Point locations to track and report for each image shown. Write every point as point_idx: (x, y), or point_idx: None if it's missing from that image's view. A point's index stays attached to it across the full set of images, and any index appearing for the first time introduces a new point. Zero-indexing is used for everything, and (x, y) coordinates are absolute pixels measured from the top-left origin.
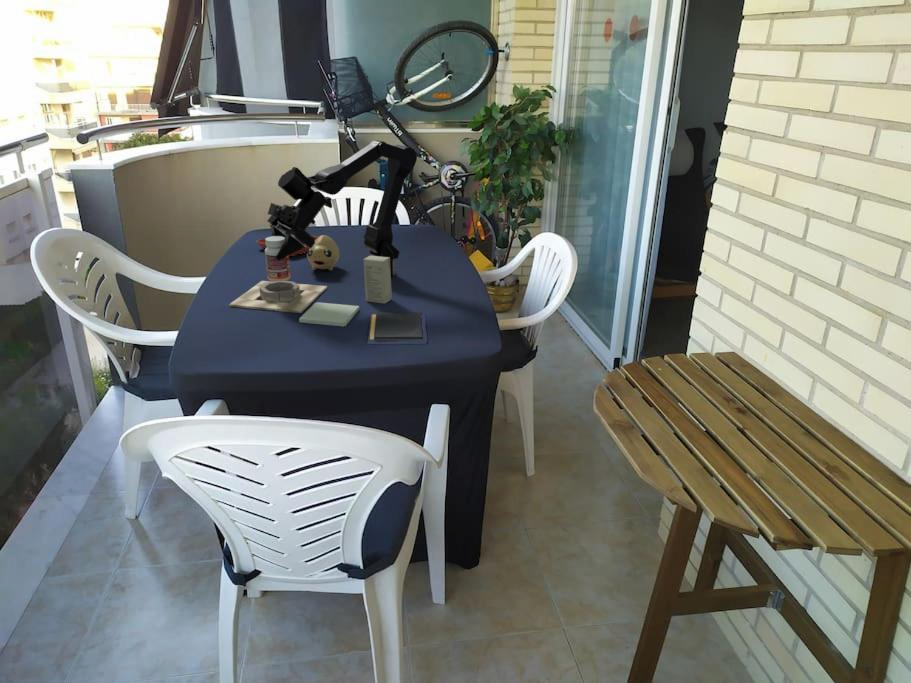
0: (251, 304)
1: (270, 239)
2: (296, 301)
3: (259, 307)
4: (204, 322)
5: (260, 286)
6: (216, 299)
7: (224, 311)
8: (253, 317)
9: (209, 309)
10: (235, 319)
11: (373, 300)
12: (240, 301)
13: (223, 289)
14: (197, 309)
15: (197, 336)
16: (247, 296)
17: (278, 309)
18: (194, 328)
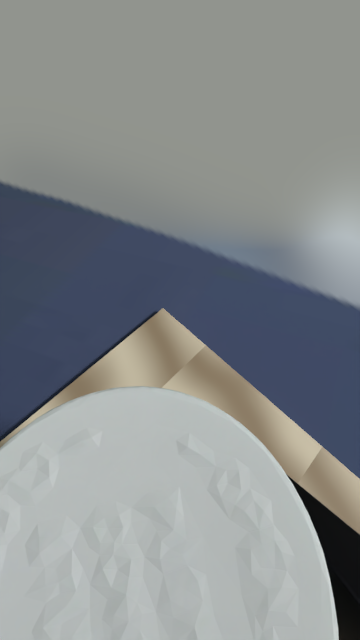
0: (120, 363)
1: (127, 468)
2: None
3: (77, 378)
4: (88, 237)
5: (307, 468)
6: (244, 300)
7: (132, 291)
8: (28, 340)
9: (171, 266)
10: (53, 296)
11: None
12: (170, 343)
13: (334, 343)
14: (187, 246)
15: (18, 208)
16: (208, 379)
17: (11, 433)
18: (68, 214)
